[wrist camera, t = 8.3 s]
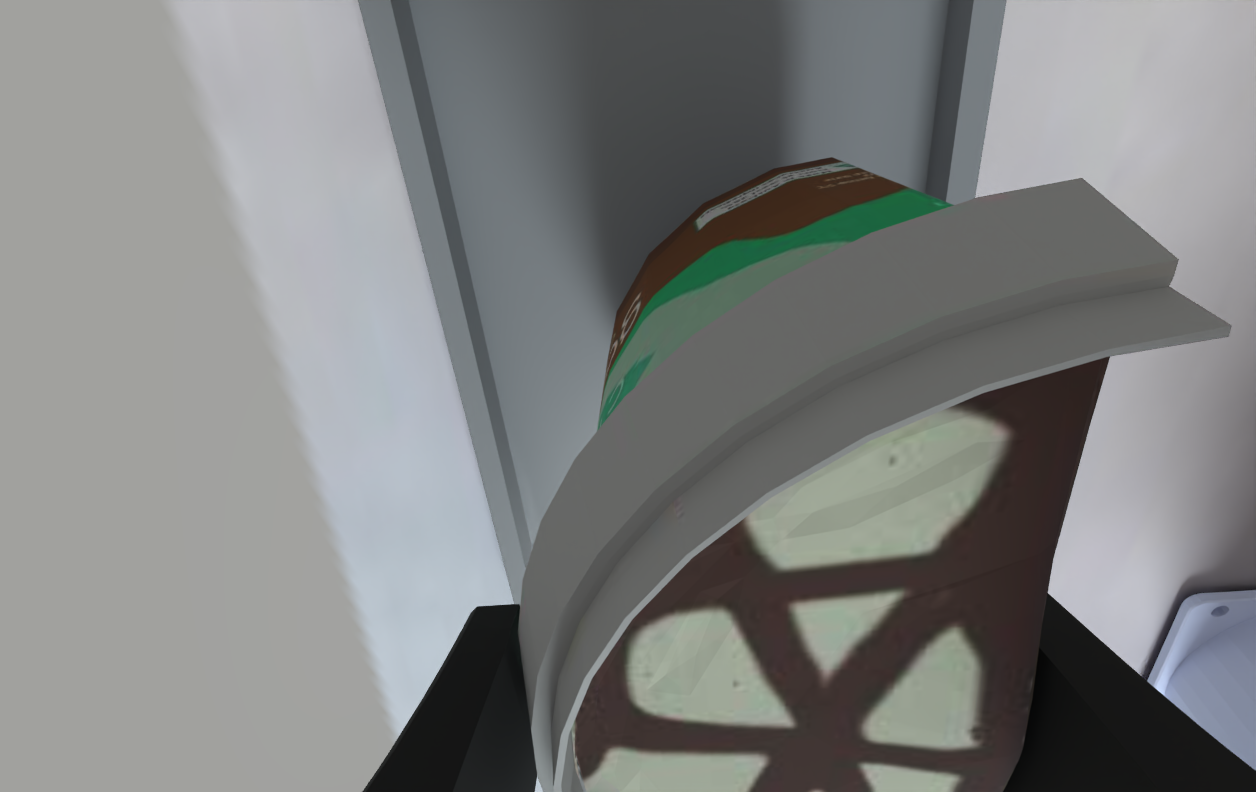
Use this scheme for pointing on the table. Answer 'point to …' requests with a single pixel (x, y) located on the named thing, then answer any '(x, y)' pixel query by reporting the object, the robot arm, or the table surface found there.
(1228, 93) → the table surface
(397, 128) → the gray tray
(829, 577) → the food container
